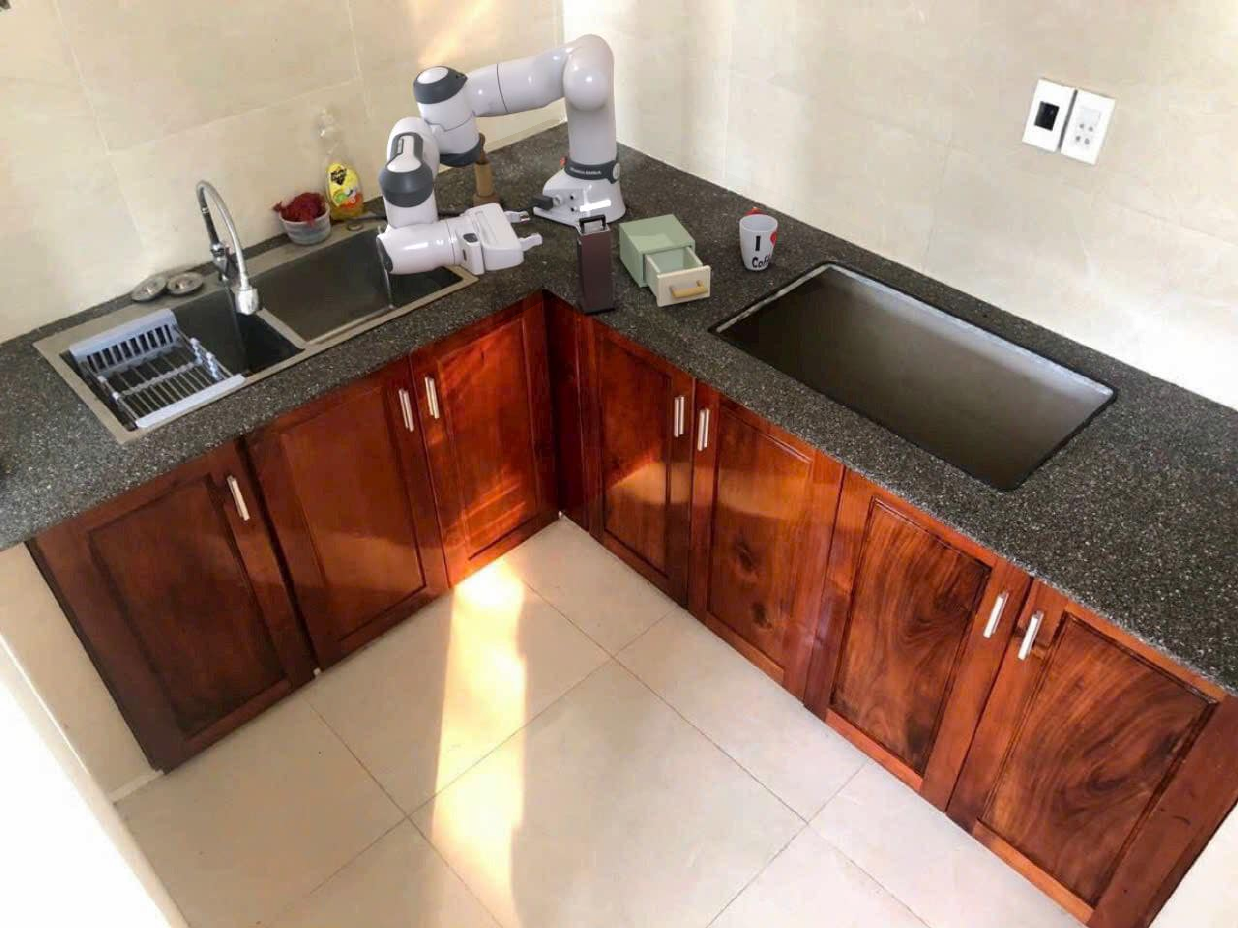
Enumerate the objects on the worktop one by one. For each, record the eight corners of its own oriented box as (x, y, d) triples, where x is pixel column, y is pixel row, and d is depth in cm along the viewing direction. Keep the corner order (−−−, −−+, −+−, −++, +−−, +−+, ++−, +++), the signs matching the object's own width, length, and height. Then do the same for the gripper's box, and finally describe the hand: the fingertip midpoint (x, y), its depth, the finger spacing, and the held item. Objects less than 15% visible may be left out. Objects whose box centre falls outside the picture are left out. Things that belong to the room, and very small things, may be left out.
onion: (766, 233, 231) (768, 201, 226) (766, 245, 227) (769, 213, 221) (741, 232, 232) (743, 200, 226) (741, 244, 227) (742, 212, 222)
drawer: (717, 306, 206) (718, 277, 201) (665, 317, 203) (665, 288, 199) (688, 268, 218) (688, 240, 214) (638, 278, 216) (638, 250, 211)
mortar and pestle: (505, 202, 247) (497, 131, 236) (489, 212, 243) (480, 141, 232) (484, 196, 250) (475, 126, 238) (468, 206, 246) (458, 136, 234)
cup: (750, 277, 216) (753, 235, 210) (730, 261, 222) (732, 220, 215) (781, 267, 219) (785, 226, 212) (761, 252, 224) (763, 211, 218)
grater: (615, 310, 208) (611, 220, 194) (585, 316, 206) (580, 225, 193) (608, 299, 211) (604, 209, 198) (579, 304, 210) (573, 215, 196)
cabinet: (694, 276, 217) (695, 241, 211) (639, 287, 214) (639, 251, 209) (672, 248, 227) (672, 213, 221) (620, 258, 224) (618, 223, 219)
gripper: (456, 231, 199) (523, 219, 202) (477, 279, 184) (549, 266, 187) (451, 201, 195) (520, 189, 198) (473, 249, 180) (547, 235, 183)
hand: (534, 227), depth 193 cm, fingers open, 8 cm apart
